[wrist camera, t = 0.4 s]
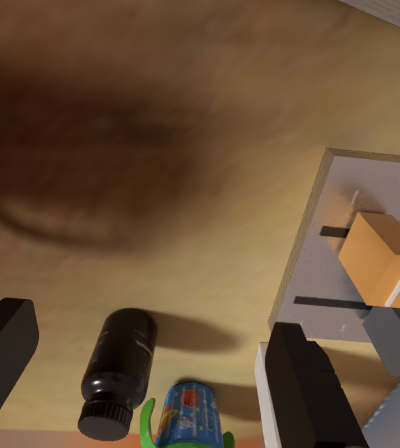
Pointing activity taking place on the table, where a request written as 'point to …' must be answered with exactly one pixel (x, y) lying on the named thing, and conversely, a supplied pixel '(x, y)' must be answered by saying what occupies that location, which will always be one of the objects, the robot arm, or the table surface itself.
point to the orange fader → (374, 258)
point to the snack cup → (186, 420)
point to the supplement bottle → (117, 374)
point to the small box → (379, 9)
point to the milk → (266, 401)
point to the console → (334, 245)
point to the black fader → (385, 336)
